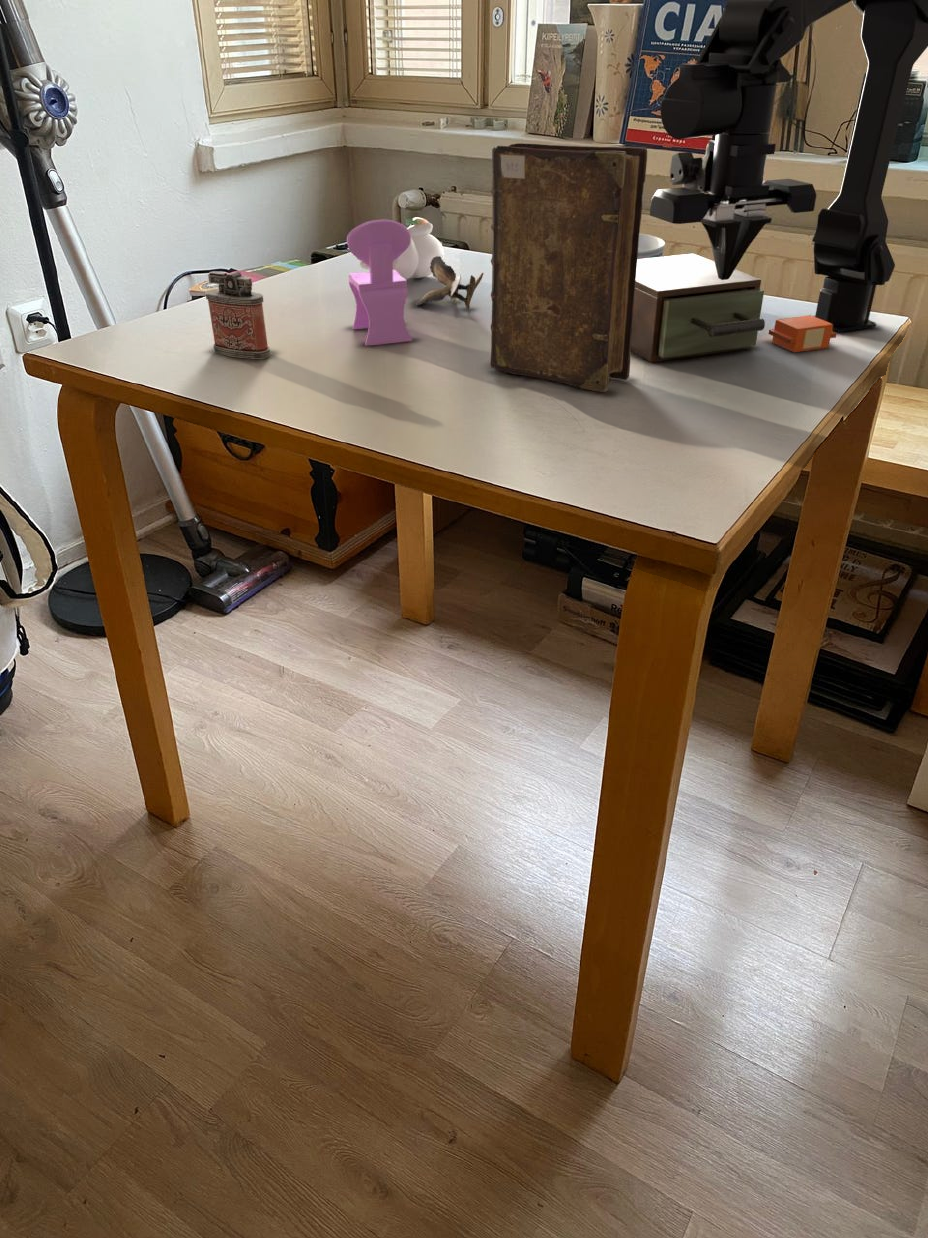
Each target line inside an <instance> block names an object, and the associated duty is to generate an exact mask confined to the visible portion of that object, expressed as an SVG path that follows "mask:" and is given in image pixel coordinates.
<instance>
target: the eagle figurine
mask: <svg viewBox="0 0 928 1238" xmlns="http://www.w3.org/2000/svg"><path fill="white" fill-rule="evenodd" d="M430 264H431V266H430V269H431V272H432V273H433V274H432V276H433V278H435V279H436V280H437V282H438V283H440V284H441V285H444V286H443V287H441V288H437V289H436V288H435V289H432V290H430V291H428V292H427V293H425V294H424V295H423V297H421V299H420V300H418V301H416V302H415V306H420V305H423V304H425V303H428V302H432V301H433V302H439V301H442V300H443V299H445V297H447V296H448V297H449V298H450V301H452V302H453V303H455V304H457V299H458V300H459V301H461V302H464V306H465V308H466V309H467V311H469V310H470V306H471V305H470V304H471V301H472V298H473V295H474V293H475V290H476V289H477V287H478V286H479V284H480V283H481V281H482V279H483V276H484V273H485V272H481V274H480V275H479V276H478V278H477V279H476V278H475V276H473V275H472V274H471V275H470V278H469V282H468V283H467V284H466V285H465V284H462V283H461V281H462V275H461V274H459V276H458V277H457V274H456V272H455V270H454V269H453V267H452V266H451V265H448V264H447V263H446V261H444V259H443V260H442V258H441V257H440V256H439V257H438V256H436V257H434V258H433V259H432V260H431V263H430ZM459 290H460V291H463V290H464V291H466V295H465V297H464V296H463V294H460V293H459Z"/></svg>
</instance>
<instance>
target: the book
mask: <svg viewBox="0 0 928 1238" xmlns="http://www.w3.org/2000/svg"><path fill="white" fill-rule="evenodd" d="M647 163H648V148H647V147H643V146H592V145H591V146H589V145H588V146H584V145H559V144H558V145H557V144H541V143H522V142H521V143H512V144H509V145H496V147H493V148H492V149H491V181H492V183H491V184H492V187H491V190H490V193H491V196H492V199H491V200H492V201H491V204H492V205H491V206H492V209H491V210H492V212H491V215H492V217H491V219H492V220H491V221H492V222H491V226H490V229H491V232H492V234H491V258H490V263H491V292H490V297H491V322H490V331H491V336H490V337H491V343H490V345H491V346H490V360H489V361H490V362H489V364H490V366H491V368H493V369H495V370H497V371H500V372H505V373H510V374H511V375H512V374H513V375H520V376H527V377H533V378H537V379H543V380H547V381H548V380H550V381H553V382H556V383H563V384H566V385H570V386H572V387H577V388H580V389H584V390H590V391H595V392H600V393H604V392H608V391H609V389H610V378H611V379H616V380H623V381H627V380H628V379H629V378H630V372H631V359H632V351H631V335H632V329H633V308H634V297H635V282H636V270H637V259H638V244H639V233H640V231H641V230H640V229H641V222H642V215H643V195H644V187H645V182H646V175H647Z"/></svg>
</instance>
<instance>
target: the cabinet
mask: <svg viewBox="0 0 928 1238" xmlns="http://www.w3.org/2000/svg"><path fill="white" fill-rule="evenodd" d="M761 284H762V279H761V278H758V277H757V276H753V275H750V274H748V273H745V272H743V271H740V270H737V269H735V270H734V271H733V273H732V275H731V276H730V278H729V279H727V280H721V279H719V278H718V274H717V270H716V265H715V260H711V259H708V258H706V257H703V256H702V255H701V256H700V255H698V254H695V253H688V254H687V253H685V254H675V255H667V256H662V257H655V258H645V259H637V270H636V282H635V297H634V308H633V329H632V335H631V352H633V353H634V354H636V355H638V356H639V357H641V358H643V359H645V360H646V361H648V362H650V363H654V362H662V361H670V360H678V359H683V358H684V359H685V358H692V357H697V356H698V357H699V356H706V355H712V354H719V353H728V352H736V351H743V350H748V349H750V350H751V347H752V346H749V347H742V348H735V349H728V350H720V351H713V352H706V353H699V354H692V355H684V356H677V357H670V358H661V357H660V356H658V353H659V349H658V339H659V330H660V320H661V310H662V301H663V298H662V297H670V296H679V295H687V294H696V293H704V292H713V291H721V290H730V289H739V288H747V290H751V289H761Z"/></svg>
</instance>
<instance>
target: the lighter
mask: <svg viewBox="0 0 928 1238" xmlns="http://www.w3.org/2000/svg"><path fill="white" fill-rule="evenodd" d="M207 276H208V277H207V278H208V283H209V284H216V285H218V288H213V289H208V290H206V291H205V292H204V294H205V299H206V300H207V303H208V309H209V317H210V321H211V323H210V324H211V327H212V328H211V329H212V335H213V342H214V343H213V352H214V353H216V354H219V355H223V356H228V357H233V358H242V359H251V360H262V359H266V358H268V357H270V356H271V350H270V347H269V346H268V345H269V344H268V338H267V337H268V336H267V330H266V322H265V313H264V306H263V303H264V295H263V294H262V293H259V292H254V291H252V290H253V280H252V279H253V277H251V276H245V275H242V273H241V272H239V271H233V272H230V273H227V272H223V271H216V270H215V271H214V270H213V271H209V272H208V274H207Z"/></svg>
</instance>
